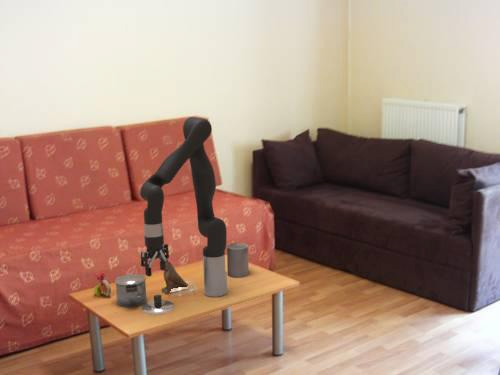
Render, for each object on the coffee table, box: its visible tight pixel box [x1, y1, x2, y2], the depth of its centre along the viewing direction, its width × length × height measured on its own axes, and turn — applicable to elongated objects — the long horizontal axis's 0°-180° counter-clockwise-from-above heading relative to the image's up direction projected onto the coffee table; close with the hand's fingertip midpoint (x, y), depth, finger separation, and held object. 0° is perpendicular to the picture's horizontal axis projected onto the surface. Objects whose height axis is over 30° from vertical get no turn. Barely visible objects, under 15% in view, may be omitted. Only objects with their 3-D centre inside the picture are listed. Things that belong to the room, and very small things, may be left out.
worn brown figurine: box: [161, 258, 189, 295], centre depth 304 cm, size 12×6×18 cm, turn 122°
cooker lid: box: [141, 294, 175, 316], centre depth 286 cm, size 13×13×6 cm
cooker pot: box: [114, 273, 148, 308], centre depth 293 cm, size 18×13×10 cm
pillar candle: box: [226, 242, 250, 279], centre depth 322 cm, size 10×10×15 cm
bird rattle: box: [93, 270, 112, 298], centre depth 301 cm, size 6×11×9 cm
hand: (155, 272), depth 283 cm, fingers open, 8 cm apart
